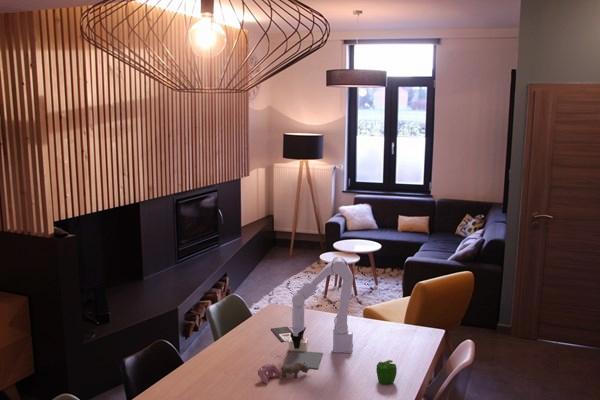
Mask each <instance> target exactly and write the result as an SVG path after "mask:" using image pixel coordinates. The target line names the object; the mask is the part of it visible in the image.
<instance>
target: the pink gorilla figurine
mask: <svg viewBox="0 0 600 400" xmlns="http://www.w3.org/2000/svg"><path fill="white" fill-rule="evenodd" d="M274 374H275V376H277V377H279V378H281V375H282V372H281V371H280V370H279V369H278V367H277V366H276V365H275V364H274V363H266V364H264V365H262V366H261V367H260V368H258V370H257V376H258V377H259V379H260V380H261V382H263V383H264V384H266V385H267V384H268V383H269V381H268V379H269V378H272V377H274Z"/></svg>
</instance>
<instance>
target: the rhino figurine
mask: <svg viewBox="0 0 600 400" xmlns="http://www.w3.org/2000/svg"><path fill="white" fill-rule="evenodd" d="M280 369H281V371H280V372H281V376H280V380H281V381H284V380H285V378H287V374H289V375H293V377H294V379H298V378H299V376H298V374H299V373H300V371H301V372H302V373H305V374H307V373H308V371H310V370H311V369H310V367H309V368H308V367H307V365H306V366H305V362H304V363H303V364H301V363H295V364H292V365H290V364H287V365H285V364H283V365H282V366H281V368H280Z"/></svg>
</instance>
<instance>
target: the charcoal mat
mask: <svg viewBox="0 0 600 400" xmlns="http://www.w3.org/2000/svg"><path fill="white" fill-rule="evenodd" d="M323 354H324V352H318V351H308V350H306V351H295V350H290V353H289V355H288V357H287V359H286V361H285V363H284V365H287V364H290V365H292V364H295V363H301V364H303V363H304V362H305V366H306V365H307V367H308V368H309V367H310V369H309V370H319V366H320V364H321V361H322V357H323ZM308 368H307V369H308Z"/></svg>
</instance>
